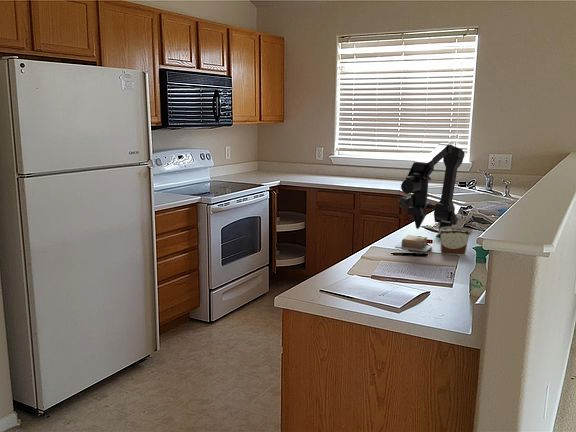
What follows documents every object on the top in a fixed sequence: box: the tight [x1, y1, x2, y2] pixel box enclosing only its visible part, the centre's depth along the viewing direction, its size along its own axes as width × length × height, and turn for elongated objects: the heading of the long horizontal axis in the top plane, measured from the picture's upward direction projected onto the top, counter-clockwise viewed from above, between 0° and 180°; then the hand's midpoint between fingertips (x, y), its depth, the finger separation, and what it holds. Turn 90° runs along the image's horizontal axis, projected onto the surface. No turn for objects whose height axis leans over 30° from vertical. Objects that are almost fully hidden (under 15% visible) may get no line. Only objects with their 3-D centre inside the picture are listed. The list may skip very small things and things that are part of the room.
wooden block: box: [401, 234, 428, 250], centre depth 221 cm, size 3×8×9 cm
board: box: [394, 241, 433, 253], centre depth 221 cm, size 9×13×1 cm
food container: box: [439, 226, 471, 256], centre depth 213 cm, size 12×6×10 cm, turn 89°
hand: (417, 228), depth 223 cm, fingers closed
